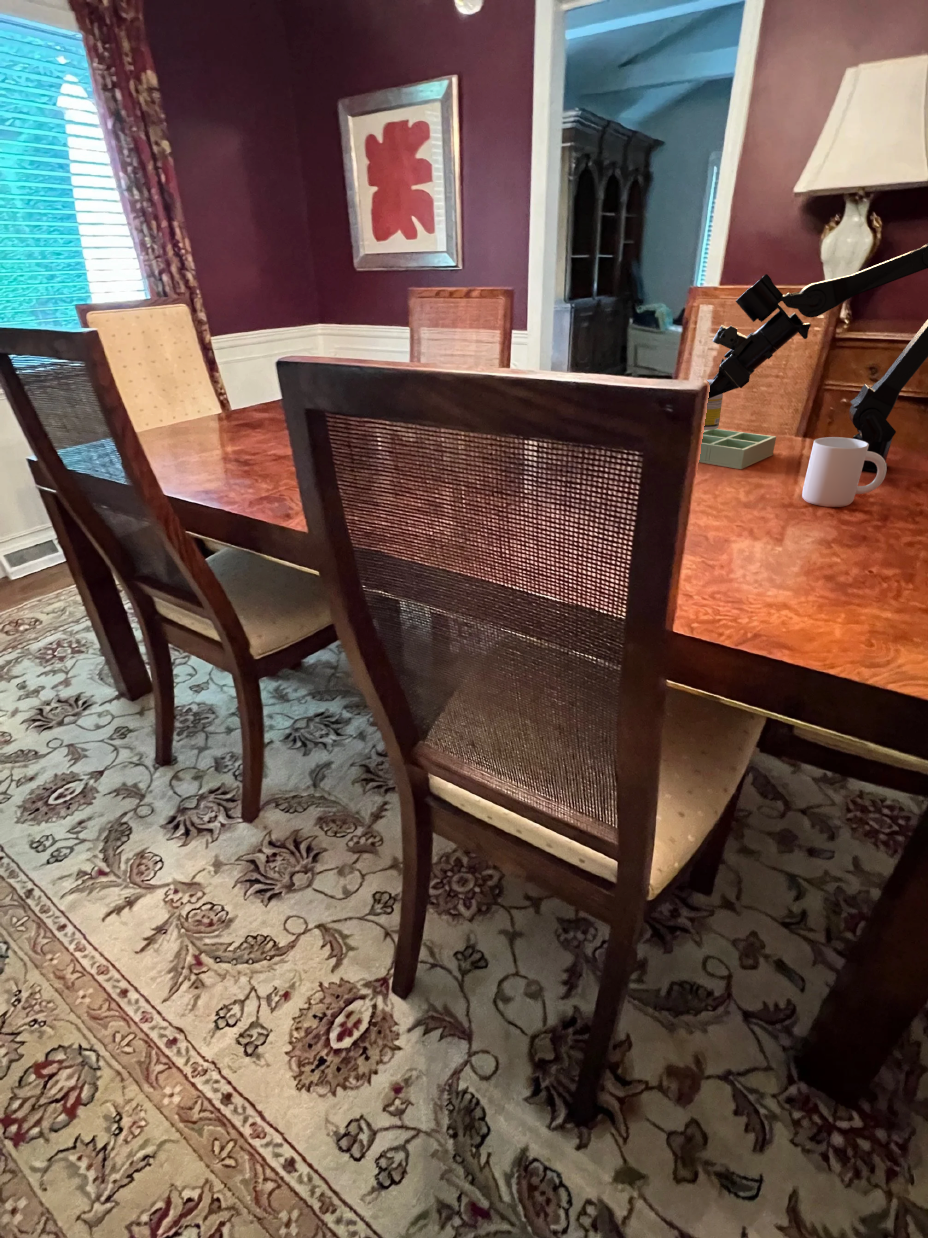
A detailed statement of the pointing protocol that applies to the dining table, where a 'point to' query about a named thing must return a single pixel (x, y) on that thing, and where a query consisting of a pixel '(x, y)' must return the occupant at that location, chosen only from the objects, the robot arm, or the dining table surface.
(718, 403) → the supplement bottle
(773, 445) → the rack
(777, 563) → the dining table surface
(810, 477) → the mug
